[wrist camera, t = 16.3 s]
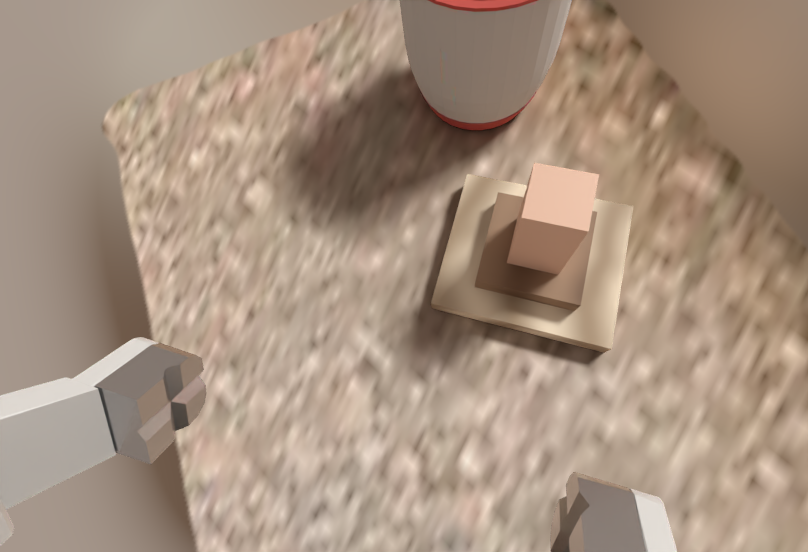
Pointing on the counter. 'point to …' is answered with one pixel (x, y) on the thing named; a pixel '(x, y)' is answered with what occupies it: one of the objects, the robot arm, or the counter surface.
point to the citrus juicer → (481, 55)
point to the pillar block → (552, 217)
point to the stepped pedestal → (532, 270)
